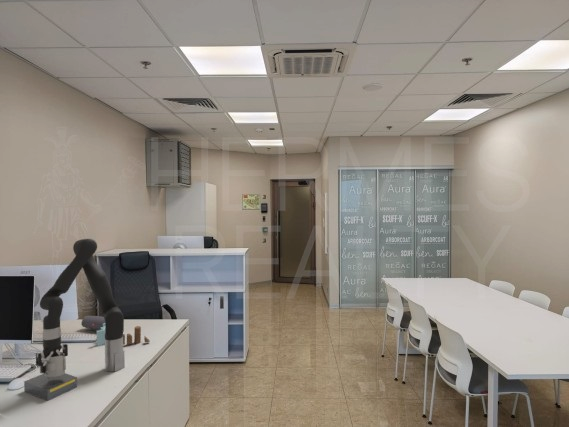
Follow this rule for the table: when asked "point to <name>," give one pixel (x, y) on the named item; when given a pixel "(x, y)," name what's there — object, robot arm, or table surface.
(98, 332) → the squiggly pen holder
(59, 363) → the cable organizer
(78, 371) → the table surface
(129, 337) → the wooden block set
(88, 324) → the bluetooth speaker
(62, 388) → the block
